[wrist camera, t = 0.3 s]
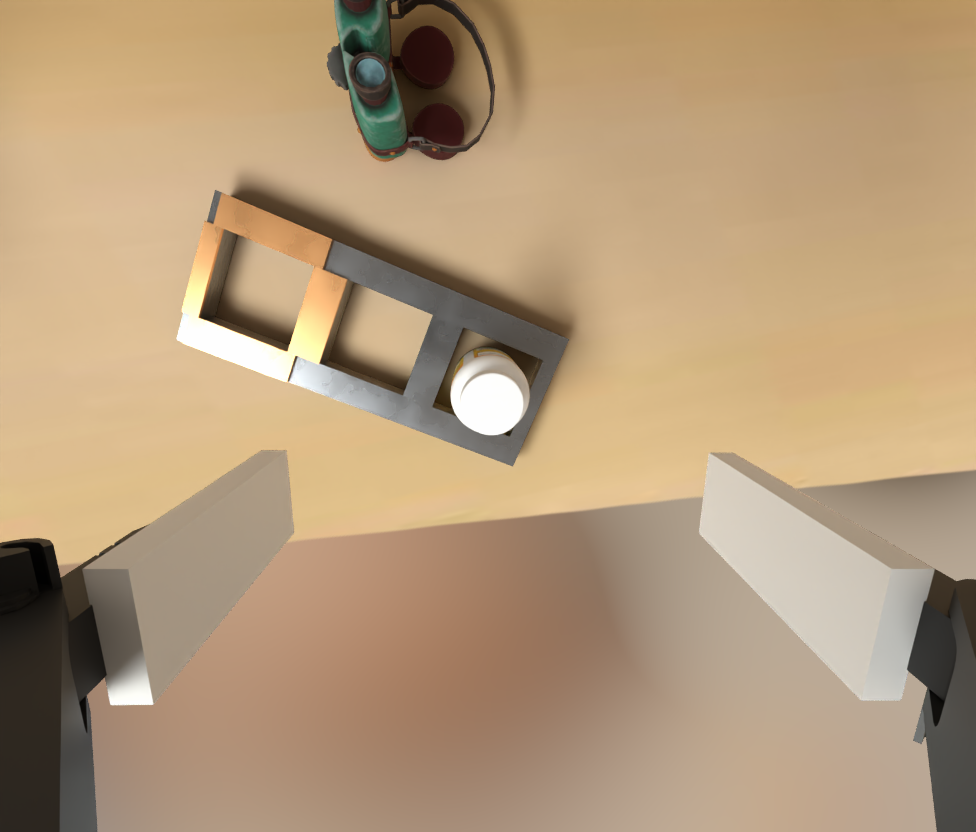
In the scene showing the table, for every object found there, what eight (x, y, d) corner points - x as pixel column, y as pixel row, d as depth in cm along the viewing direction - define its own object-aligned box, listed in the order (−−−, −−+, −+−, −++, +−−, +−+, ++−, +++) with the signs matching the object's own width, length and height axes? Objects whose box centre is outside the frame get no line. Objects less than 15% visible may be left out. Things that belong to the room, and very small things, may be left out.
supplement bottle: (475, 423, 39) (478, 462, 29) (440, 369, 38) (431, 391, 28) (531, 389, 38) (551, 418, 29) (497, 333, 37) (506, 344, 28)
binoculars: (521, 104, 25) (330, 123, 24) (491, 163, 35) (356, 178, 34) (498, -104, 23) (287, -93, 21) (474, 24, 33) (329, 35, 32)
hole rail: (192, 337, 36) (173, 339, 34) (229, 196, 34) (212, 188, 32) (510, 458, 40) (513, 467, 37) (563, 337, 37) (570, 339, 35)
